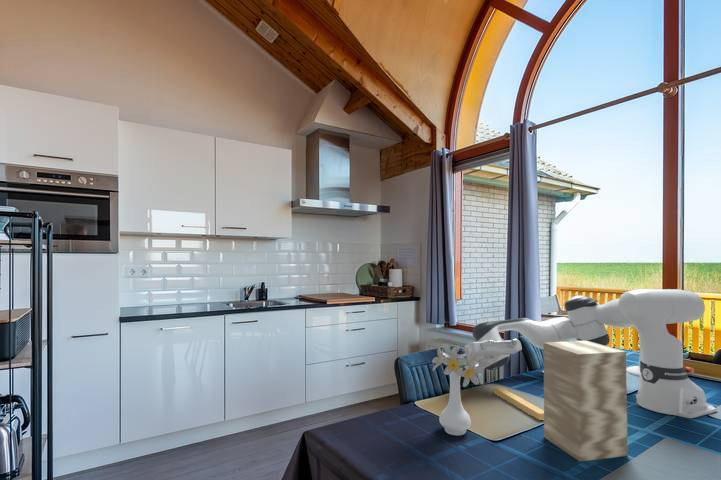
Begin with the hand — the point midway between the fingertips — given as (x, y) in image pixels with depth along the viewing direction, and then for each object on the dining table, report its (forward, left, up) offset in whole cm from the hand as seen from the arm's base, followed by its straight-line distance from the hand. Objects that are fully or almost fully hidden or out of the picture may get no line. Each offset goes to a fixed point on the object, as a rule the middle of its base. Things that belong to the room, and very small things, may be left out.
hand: (503, 341), depth 141 cm
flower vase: (+29, +22, -20) cm, 41 cm away
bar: (0, +8, -20) cm, 21 cm away
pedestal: (0, +37, -19) cm, 42 cm away
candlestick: (-74, -13, -20) cm, 78 cm away
